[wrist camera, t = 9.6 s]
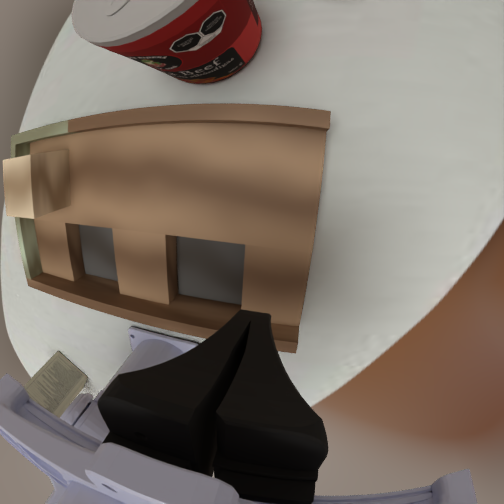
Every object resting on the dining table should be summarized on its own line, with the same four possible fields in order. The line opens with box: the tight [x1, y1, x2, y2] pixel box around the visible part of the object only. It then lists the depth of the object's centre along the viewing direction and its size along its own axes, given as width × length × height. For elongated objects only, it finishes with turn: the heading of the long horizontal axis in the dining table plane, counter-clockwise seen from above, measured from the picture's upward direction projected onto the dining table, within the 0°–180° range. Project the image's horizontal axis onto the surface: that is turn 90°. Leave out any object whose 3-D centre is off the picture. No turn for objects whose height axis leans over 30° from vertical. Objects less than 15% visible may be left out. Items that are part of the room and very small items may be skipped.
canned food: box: [72, 0, 262, 84], centre depth 11 cm, size 8×8×11 cm
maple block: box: [3, 149, 71, 219], centre depth 18 cm, size 5×5×4 cm
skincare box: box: [24, 351, 87, 418], centre depth 28 cm, size 6×4×12 cm
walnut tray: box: [11, 104, 331, 353], centre depth 20 cm, size 16×28×4 cm, turn 86°
